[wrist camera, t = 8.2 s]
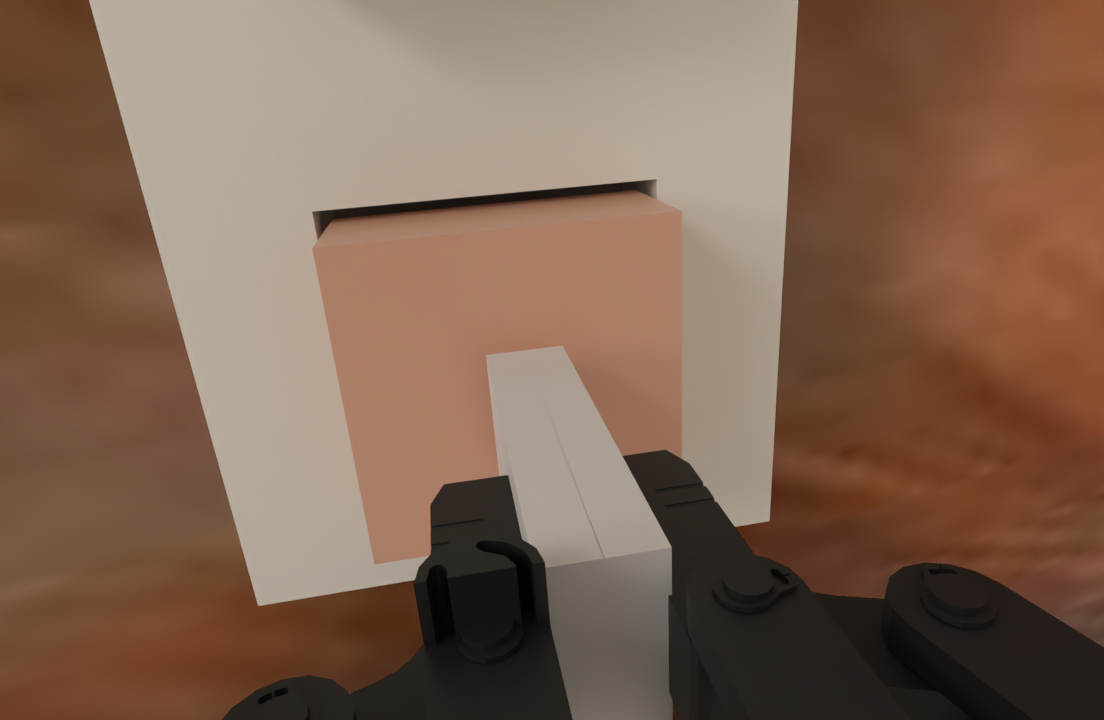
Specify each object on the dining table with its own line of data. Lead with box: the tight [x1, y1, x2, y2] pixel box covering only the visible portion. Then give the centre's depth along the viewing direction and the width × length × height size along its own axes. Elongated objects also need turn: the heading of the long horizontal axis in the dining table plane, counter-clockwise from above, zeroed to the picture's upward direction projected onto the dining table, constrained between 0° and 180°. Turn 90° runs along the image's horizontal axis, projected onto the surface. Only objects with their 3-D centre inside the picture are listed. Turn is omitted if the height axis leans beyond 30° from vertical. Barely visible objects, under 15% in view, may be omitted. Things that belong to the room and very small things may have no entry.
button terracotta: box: [312, 190, 682, 564], centre depth 16 cm, size 7×7×3 cm
